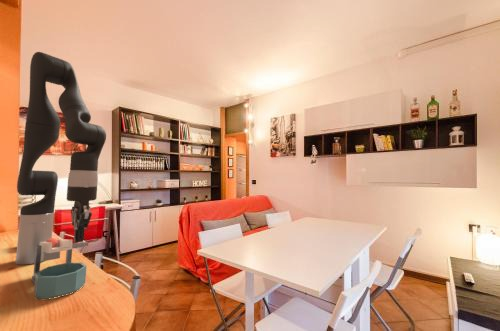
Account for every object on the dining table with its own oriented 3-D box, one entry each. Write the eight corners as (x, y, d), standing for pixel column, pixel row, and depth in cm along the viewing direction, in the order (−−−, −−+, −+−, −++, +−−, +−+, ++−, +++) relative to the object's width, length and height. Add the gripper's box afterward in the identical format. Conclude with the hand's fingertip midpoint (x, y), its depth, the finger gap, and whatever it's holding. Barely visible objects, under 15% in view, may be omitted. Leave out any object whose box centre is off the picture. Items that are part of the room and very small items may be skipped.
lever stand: (31, 280, 67) (34, 244, 67) (67, 271, 73) (70, 239, 74) (34, 285, 64) (37, 248, 64) (71, 276, 70) (74, 242, 71)
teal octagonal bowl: (32, 290, 61) (33, 269, 61) (78, 278, 69) (79, 260, 69) (38, 304, 54) (40, 280, 55) (88, 289, 62) (89, 268, 63)
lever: (38, 261, 71) (39, 242, 72) (74, 254, 78) (74, 237, 79) (48, 264, 62) (49, 242, 63) (88, 256, 69) (88, 236, 70)
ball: (44, 248, 72) (44, 238, 72) (56, 246, 74) (56, 236, 75) (45, 249, 70) (46, 239, 70) (58, 247, 72) (58, 237, 73)
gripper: (62, 184, 72) (58, 239, 70) (73, 185, 63) (68, 248, 62) (90, 184, 77) (86, 235, 76) (103, 185, 69) (100, 243, 68)
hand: (78, 241), depth 69 cm, fingers closed
